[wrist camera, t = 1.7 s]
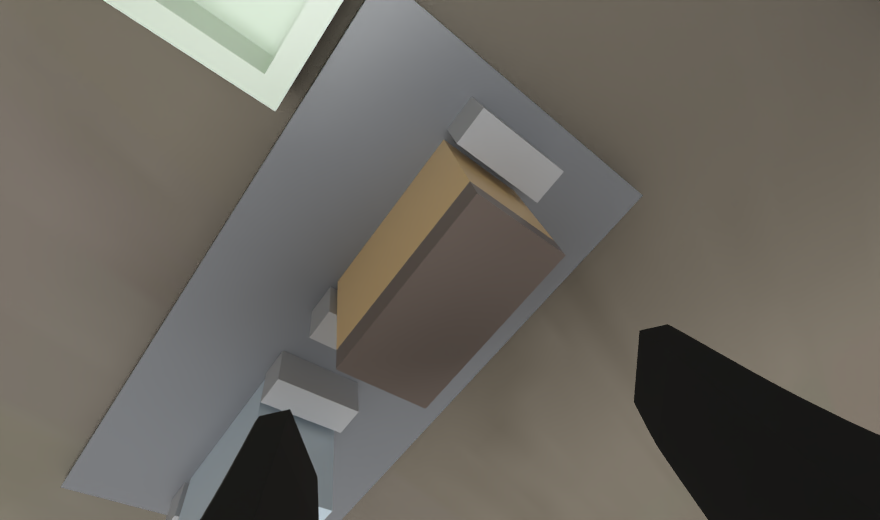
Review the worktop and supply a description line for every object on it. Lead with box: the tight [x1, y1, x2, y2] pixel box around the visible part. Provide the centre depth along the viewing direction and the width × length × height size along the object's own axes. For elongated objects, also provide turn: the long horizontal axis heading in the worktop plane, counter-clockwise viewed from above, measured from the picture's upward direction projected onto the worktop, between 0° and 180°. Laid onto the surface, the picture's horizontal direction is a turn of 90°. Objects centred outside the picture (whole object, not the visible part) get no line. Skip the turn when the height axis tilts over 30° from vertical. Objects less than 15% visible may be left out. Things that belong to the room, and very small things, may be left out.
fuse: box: [178, 380, 334, 520], centre depth 18 cm, size 3×6×4 cm, turn 142°
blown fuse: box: [336, 140, 566, 409], centre depth 15 cm, size 3×6×4 cm, turn 142°
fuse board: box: [61, 0, 643, 520], centre depth 18 cm, size 11×22×2 cm, turn 142°
